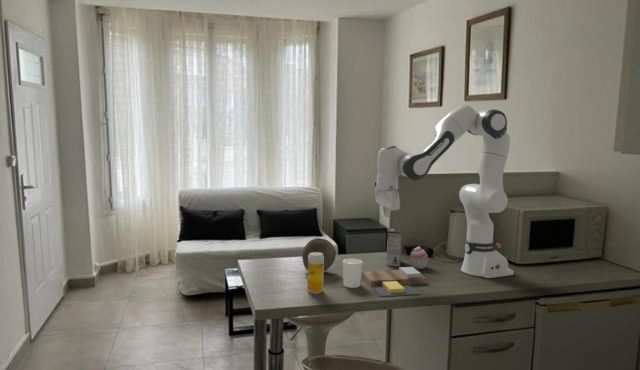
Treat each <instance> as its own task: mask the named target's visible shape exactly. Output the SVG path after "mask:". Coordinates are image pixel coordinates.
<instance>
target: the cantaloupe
mask: <svg viewBox="0 0 640 370" xmlns="http://www.w3.org/2000/svg"><path fill="white" fill-rule="evenodd" d="M311 252H320V253H323V256H324V272H326V271H327V270H329V269H330V267H331V266H332V265H333V264H334V262H335V259H336V255H337V252H336V249H335V246H334V245H333V244H332V242H331V241H329V240H327V239H325V238H320V237H317V238H313V239H311V240H310V241H308V242H307V243H306V245H305V246H304V248H303V249H302V254H301V256H302V263H303V266H304V268H305V269H306V271H308V256H309V253H311Z"/></svg>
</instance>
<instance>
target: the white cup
mask: <svg viewBox="0 0 640 370" xmlns="http://www.w3.org/2000/svg"><path fill="white" fill-rule="evenodd" d="M362 272H363V260H361V259H359V258H345V259H343V260H342V279H343V282H342V283H343V286H344V287H345V288H349V289H355V288H356V289H357V288H359V287H361V280H362Z"/></svg>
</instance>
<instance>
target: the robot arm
mask: <svg viewBox="0 0 640 370" xmlns="http://www.w3.org/2000/svg"><path fill="white" fill-rule="evenodd" d="M507 126H508V118H507V115H506V114H505V112H503V111H502V110H499V109H482V110H477V111H476V110H475V109H474V108H473V107H471V106H470V105H468V104H461V105H459V106H457V107H456V108H454V109H453V110H451V111H450V112H447V114H446V115H444V116H443V117H442V118H441V119H440V120H439V121H438V122H437V123H436V125H434V128H433V134H434V137H435V138H434V140H433V141H432V143H430V144H429V145H428V146H427V147H426V148H425V149H424V150H423V151H422V152H420V153H418V154H417V153H416V154H411V153H408V152H407V151H404V150H402V149H400V148H398V146H396V145H388V146H387V145H386V146H383V147H381V148H380V149H379V150H378V152H377V164H376V167H377V168H376V169H377V176H376V180H374V182H373V187H374V198H375V199H374V200H375V202H376V203H377V204H378V205H380V206H382V211H383V217H384V218H386V219H387V218H388V219H390V218H391V212H392V211H399V210H400V208H401V201H400V193H399V191H398V189H399V177H400V176H404V177H407V178H408V179H410V180H412V181H420V180H422V179H424V178H425V177H426V176H427V175H428V174H429V172H430V170H431V168H432V166H433V165H434V164H435V162H437V160H439V158H441V157H442V155H444V153H446V152H447V151H448V149H450V147H451V146H452V145H453V144H454V143H455V142H457V140H459V139H460V138H461V137H462V136H463V135H465V134H466V133H469V134H470V135H473V136H481V137H482V139H483V145H482V149H481V152H480V156H479V158H478V162H477V166H476V170H477V173H478V175H479V183H468V184H465V185H463V186H461V188H460V190H459V195H458V197H459V200H460V202H461V203H462V206H463V208H464V213H465V217H466V225H467V226H466V239H465V242H464V243H465V244H464V256H463V257H464V259H463V262H462V265H461V268H460V271H461V272H463V273H464V274H466V275H471V276H476V277H483V278H486V279H491V278H492V279H493V278H499V277H507V276H513V275H515V274H514V271H513V270H512V269H511V268H509V262H508V260H507V258H506V257H505V256H504V255H502V254H501V253H500V252H499V251H497V249H500V248H501V244H500V243H498V242H495V241H494V227H495V226H494V225H495V224H494V223H493V221H492V219H491V217H490V214H495V213H501V212H503V211H504V210H505V209H506V208H507V205H508V196H507V194H506V191H505V188H504V183H503V181H504V179H503V177H504V172H505V166H506V163H507V159H508V155H509V150H510V142H511V137H510V135H509V133H507V131H508V127H507ZM496 248H497V249H496Z"/></svg>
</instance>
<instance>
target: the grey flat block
mask: <svg viewBox="0 0 640 370" xmlns="http://www.w3.org/2000/svg"><path fill="white" fill-rule="evenodd" d="M398 270H399V272H401V273H402V274H403V275H404V276H406V277H407V278H413V277H421V274H422V273H421V272H420V271H419V270H418V269H414V268H413V267H411V266H404V267H403V266H402V267H400V266H398Z"/></svg>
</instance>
